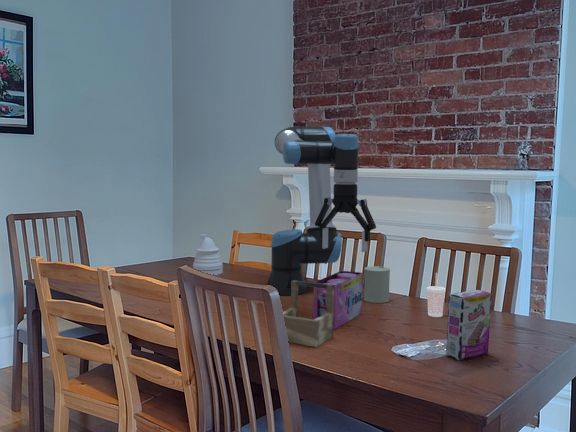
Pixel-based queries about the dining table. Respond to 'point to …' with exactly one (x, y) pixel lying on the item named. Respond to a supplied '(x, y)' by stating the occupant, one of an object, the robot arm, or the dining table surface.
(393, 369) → the dining table surface
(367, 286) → the can
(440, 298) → the beverage cup
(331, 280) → the gum box
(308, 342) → the dispenser
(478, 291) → the candy bar box
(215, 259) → the honey pot
